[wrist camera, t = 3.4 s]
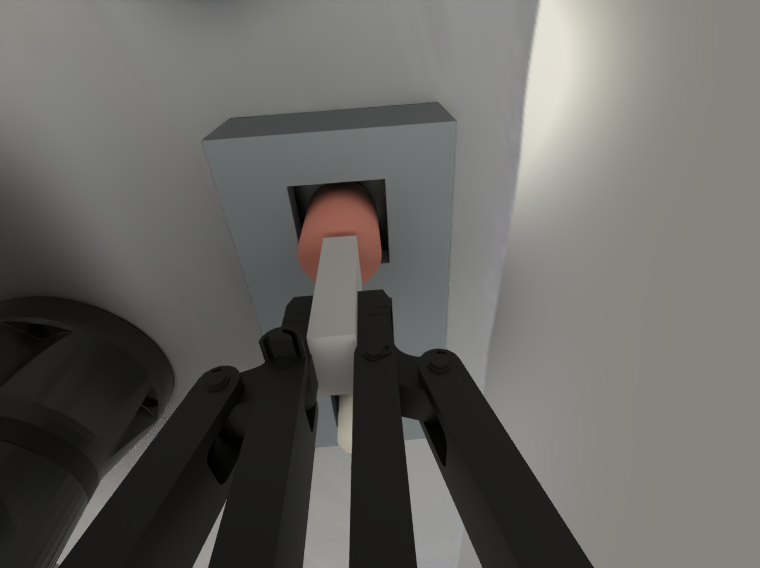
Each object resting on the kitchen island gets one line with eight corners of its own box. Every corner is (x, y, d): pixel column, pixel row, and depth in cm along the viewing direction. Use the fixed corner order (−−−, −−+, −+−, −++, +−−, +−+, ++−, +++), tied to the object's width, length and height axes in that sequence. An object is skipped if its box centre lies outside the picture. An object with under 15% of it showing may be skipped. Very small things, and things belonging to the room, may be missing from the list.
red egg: (379, 241, 23) (383, 286, 19) (314, 246, 23) (305, 292, 19) (374, 177, 21) (378, 213, 17) (302, 182, 21) (290, 220, 17)
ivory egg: (390, 400, 32) (395, 453, 28) (342, 404, 32) (340, 458, 28) (388, 366, 30) (393, 420, 26) (336, 370, 30) (333, 424, 26)
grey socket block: (431, 389, 36) (441, 436, 32) (305, 400, 36) (298, 448, 32) (438, 102, 22) (456, 120, 18) (230, 118, 22) (201, 140, 18)
